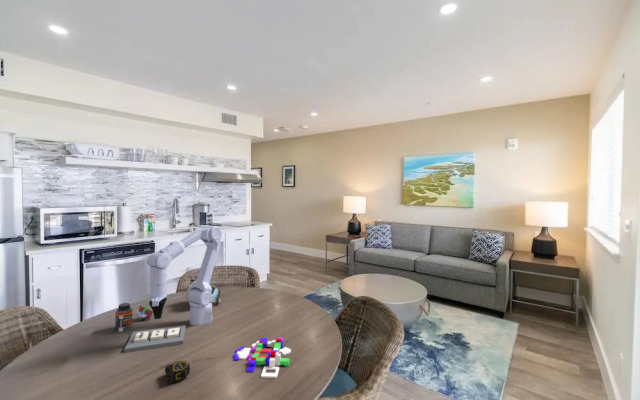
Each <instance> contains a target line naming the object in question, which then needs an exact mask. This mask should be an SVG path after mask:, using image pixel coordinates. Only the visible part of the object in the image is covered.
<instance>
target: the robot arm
mask: <svg viewBox="0 0 640 400" xmlns="http://www.w3.org/2000/svg"><path fill="white" fill-rule="evenodd" d="M222 235H223V232H222V230H221V228H220V227H219V226H218V225H206V224H201V225H199V226H198V227H196V228H194V230H193V231H191V232H190V233H189V234H188V235H187V236H185V237H184V238H183V239H181V240H180V241H176V240H175V241H170V242H169V244H168V245H166V246H165V247H163V248H160V249H159V251H158V252H157V251H155V252H153V253H151V254H150V255H149V256H148V258H147V260H146V264H147V266H148V267H149V294H147V295H145V296H146V299H149V300H150V301H149V302H148V306H149V305H150V308H152V309H151V311H153V313H152V315H153V318H154V320H160V319H162V316H163V311H164V306H165V304H166V302H167V300H168V299H167V298H168V297H167V296H168V293H167V286H168V285H167V284H168V283H167V282H168V281H167V280H168V279H167V277H168V273H167V272H168V267H169V266H170V264H171V262H172V261H173V260H175V259H176V258H177V257H178V256H180V255H181V254H183V253H184V251H185V248H187V247H189V246H191V245H192V244H194V243H196V242H198V241H199V240H201V241H202V242H203V243H204V244H205V246H206V250H205V252H204V255H203V259H202V262H201V265H200V268H199V273H198V274H197V278H196V279H197V281H196V282H195V283H193V284H192V285H191V288H190V290H189V291H188V290H187V293H186V301H188V303H189V324H190V325H191V326H202V325H208V324H212V323H213V321H212V320H213V317H214V316H213V307H212V303H209V302H210V300H211V292H212V288H211V286H210V285H211V284H210V282H211V279H212V274H213V272H214V268H215V264H216V261H217V259H218V255H219V251H220V247H221V239H222ZM201 289H202V290H201Z"/></svg>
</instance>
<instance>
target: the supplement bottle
mask: <svg viewBox="0 0 640 400" xmlns="http://www.w3.org/2000/svg"><path fill="white" fill-rule="evenodd" d="M114 321H115V323H114V324H115V326H114V330H115V331H116V332H120V333H121V332H126V331H128V330H131V329H132V328H133V308H132V307H131V303H130V302H122V303H120V304H118V307H117V310H115V320H114Z"/></svg>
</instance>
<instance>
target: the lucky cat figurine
mask: <svg viewBox="0 0 640 400" xmlns="http://www.w3.org/2000/svg"><path fill="white" fill-rule="evenodd" d="M196 281H197V278H196V279H190V282H189V283H190V284H189V287H188V289H187V292H188V291H189V290H190V288H191V285H192V284H193V283H195V282H196ZM209 285H210V286H211V288H212V292H211V300H210V302H209V303H212V308H213V306H214V307H217V306H218V305H219V304H220V303H221V301H222V298H221V289H219V288H218V287H217V286H215V285H214V284H209ZM201 290H202V289H201Z"/></svg>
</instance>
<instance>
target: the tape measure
mask: <svg viewBox="0 0 640 400" xmlns="http://www.w3.org/2000/svg"><path fill="white" fill-rule="evenodd" d="M190 371H191V366H190V364H189V362H188V361H186V360H179V361H175V362H172V363H171V364H169V365H167V366H165V368H164V373H165V376H166V377H167V383H169V384H173V383H175V382H180V381H181V380H184V379H185V378H187V377H188V376H189V374H190Z"/></svg>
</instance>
